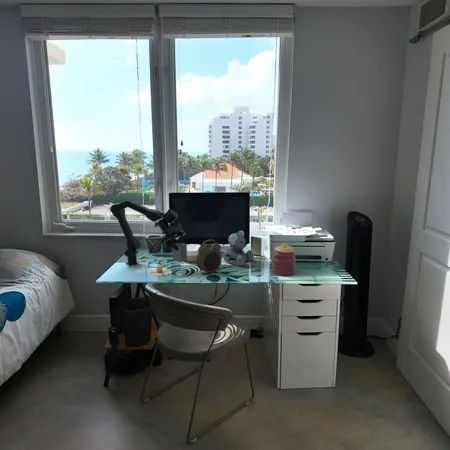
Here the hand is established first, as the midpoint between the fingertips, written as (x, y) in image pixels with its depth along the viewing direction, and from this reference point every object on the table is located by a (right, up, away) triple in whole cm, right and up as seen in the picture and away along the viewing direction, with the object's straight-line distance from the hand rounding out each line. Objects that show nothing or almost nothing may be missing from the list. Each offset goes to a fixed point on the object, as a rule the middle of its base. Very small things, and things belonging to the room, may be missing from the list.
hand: (181, 248), depth 205 cm
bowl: (+4, -8, +24) cm, 26 cm away
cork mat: (-13, -14, -1) cm, 19 cm away
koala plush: (+33, -10, +20) cm, 39 cm away
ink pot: (-13, -13, -1) cm, 18 cm away
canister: (+60, -14, 0) cm, 61 cm away
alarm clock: (+17, -14, -2) cm, 22 cm away
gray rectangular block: (-1, -7, +2) cm, 7 cm away
